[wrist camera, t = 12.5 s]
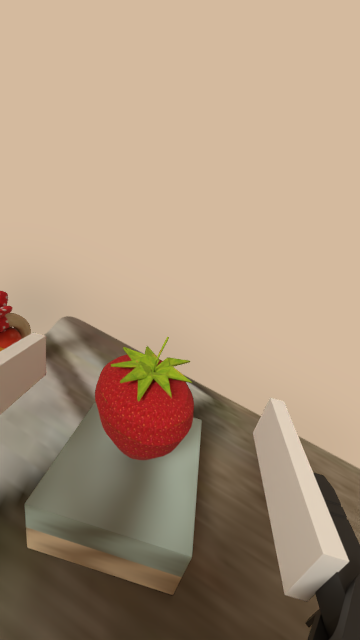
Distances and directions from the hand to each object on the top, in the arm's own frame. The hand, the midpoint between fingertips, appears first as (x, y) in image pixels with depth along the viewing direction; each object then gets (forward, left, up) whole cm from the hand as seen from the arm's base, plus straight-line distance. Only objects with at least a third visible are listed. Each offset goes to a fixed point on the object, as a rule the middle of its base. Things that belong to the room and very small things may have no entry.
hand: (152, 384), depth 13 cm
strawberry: (0, +1, -8) cm, 8 cm away
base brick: (0, +2, -13) cm, 13 cm away
